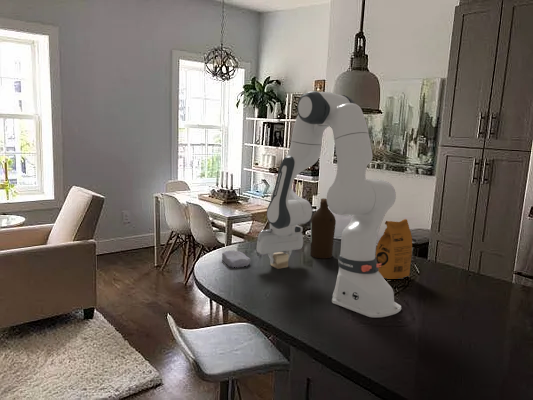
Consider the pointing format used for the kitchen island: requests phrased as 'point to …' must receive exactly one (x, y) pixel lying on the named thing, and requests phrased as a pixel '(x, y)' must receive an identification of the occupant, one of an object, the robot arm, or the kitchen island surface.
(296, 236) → the robot arm
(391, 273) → the coffee package
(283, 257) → the maple block
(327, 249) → the olive oil
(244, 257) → the stone block
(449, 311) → the kitchen island surface
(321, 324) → the kitchen island surface
